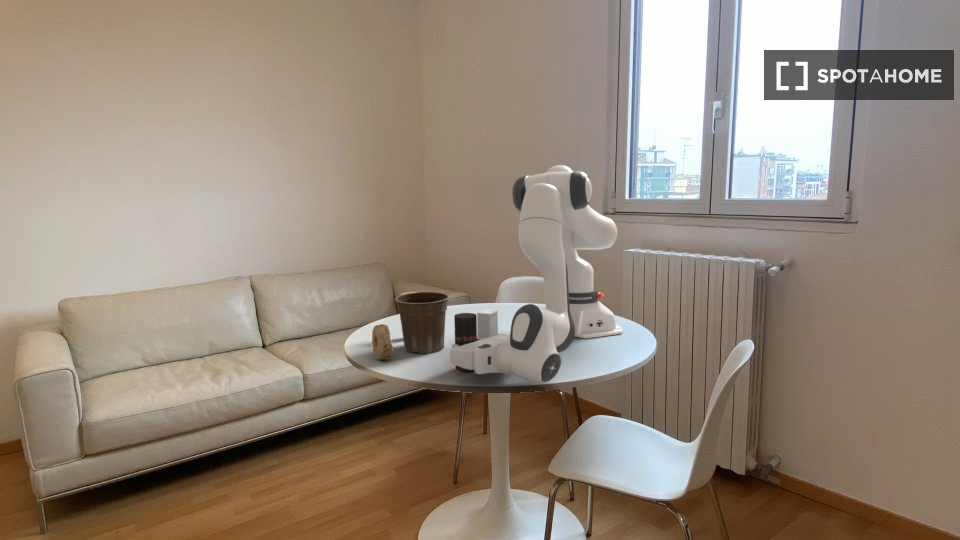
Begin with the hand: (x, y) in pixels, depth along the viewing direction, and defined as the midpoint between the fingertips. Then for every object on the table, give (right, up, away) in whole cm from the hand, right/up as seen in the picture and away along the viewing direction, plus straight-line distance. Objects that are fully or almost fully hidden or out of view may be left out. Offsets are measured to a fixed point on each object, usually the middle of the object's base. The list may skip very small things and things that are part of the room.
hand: (463, 343), depth 147 cm
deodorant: (+1, -7, 0) cm, 7 cm away
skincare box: (+7, -4, +18) cm, 19 cm away
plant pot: (-13, -4, +20) cm, 24 cm away
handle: (-18, -3, +31) cm, 36 cm away
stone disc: (-24, -6, +11) cm, 27 cm away
